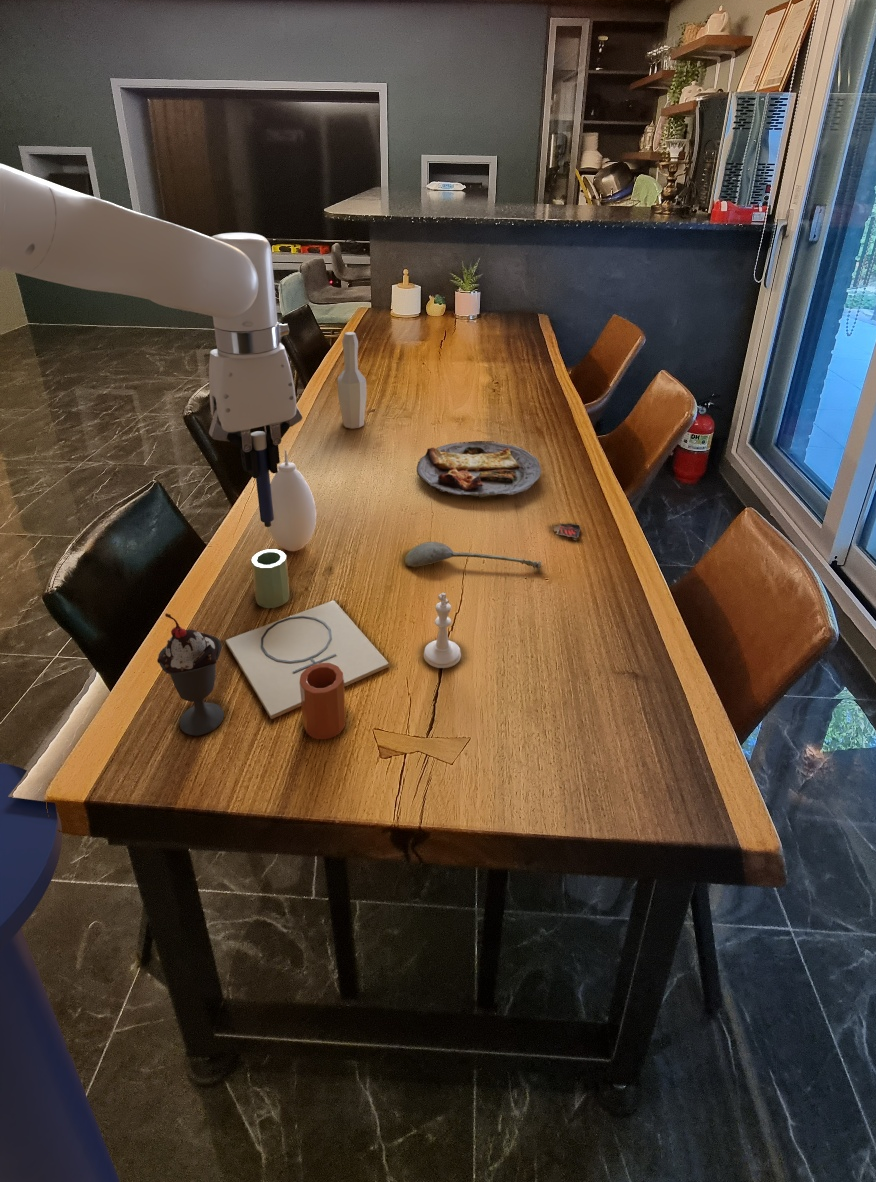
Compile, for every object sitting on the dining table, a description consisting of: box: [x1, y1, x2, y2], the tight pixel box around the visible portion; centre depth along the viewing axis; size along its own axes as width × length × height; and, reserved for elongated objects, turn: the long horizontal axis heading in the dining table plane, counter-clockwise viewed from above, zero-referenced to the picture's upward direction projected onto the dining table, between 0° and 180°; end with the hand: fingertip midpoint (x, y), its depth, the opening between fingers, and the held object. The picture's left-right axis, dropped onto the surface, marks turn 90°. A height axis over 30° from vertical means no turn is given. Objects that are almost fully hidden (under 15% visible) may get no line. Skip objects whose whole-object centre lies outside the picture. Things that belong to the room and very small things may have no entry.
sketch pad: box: [225, 599, 390, 720], centre depth 91 cm, size 16×16×1 cm
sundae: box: [156, 612, 225, 736], centre depth 78 cm, size 7×7×15 cm
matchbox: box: [553, 523, 581, 541], centre depth 121 cm, size 5×5×1 cm
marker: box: [250, 430, 274, 528], centre depth 94 cm, size 2×2×14 cm
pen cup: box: [250, 548, 291, 609], centre depth 101 cm, size 5×5×7 cm
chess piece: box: [423, 592, 462, 669], centre depth 90 cm, size 5×5×10 cm
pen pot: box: [300, 663, 347, 740], centre depth 80 cm, size 5×5×7 cm
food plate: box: [416, 440, 542, 499], centre depth 140 cm, size 25×23×4 cm
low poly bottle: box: [336, 331, 368, 430], centre depth 158 cm, size 6×6×22 cm
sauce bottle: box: [266, 449, 317, 552], centre depth 111 cm, size 8×8×18 cm
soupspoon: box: [404, 541, 542, 572], centre depth 111 cm, size 22×3×7 cm
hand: (261, 471), depth 93 cm, fingers closed on marker, 2 cm apart
